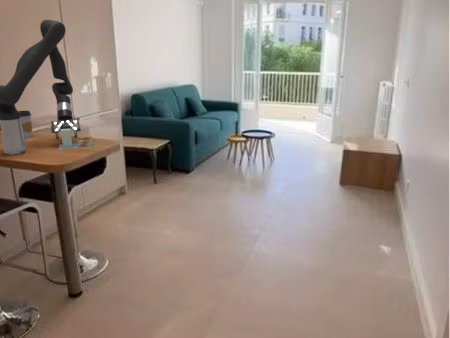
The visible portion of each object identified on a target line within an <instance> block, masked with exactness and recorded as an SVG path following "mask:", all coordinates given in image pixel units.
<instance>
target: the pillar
mask: <svg viewBox="0 0 450 338" xmlns="http://www.w3.org/2000/svg"><path fill="white" fill-rule="evenodd" d="M60 135H61V141H62V144H63V148H66V147H73V143H74V142H73V138H72V137H73V135H72V129H71V128H70V129H61V131H60Z"/></svg>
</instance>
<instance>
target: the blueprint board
mask: <svg viewBox="0 0 450 338" xmlns="http://www.w3.org/2000/svg"><path fill="white" fill-rule="evenodd" d="M72 143H73V147H66V148H63V143H62V144H61V143H60V144H58V151H61V150H75V149H76V150H77V149H84V148H85V149H86V148H95V147H96V143H95V140H93V143H94V146H86V147H78V142H72Z"/></svg>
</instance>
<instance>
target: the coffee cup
mask: <svg viewBox="0 0 450 338" xmlns="http://www.w3.org/2000/svg"><path fill="white" fill-rule="evenodd" d="M17 111H18V112H19V113H20V117H21V123H22V128H23V134H24V139H26V138H32V137H33V135H34V134H33V122H32V113H31V112H30V110H17Z"/></svg>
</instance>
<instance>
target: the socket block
mask: <svg viewBox="0 0 450 338" xmlns="http://www.w3.org/2000/svg"><path fill="white" fill-rule="evenodd" d="M93 142H94V137H93V136H85V137H77V143H78V147H86V146H94V143H93Z"/></svg>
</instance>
